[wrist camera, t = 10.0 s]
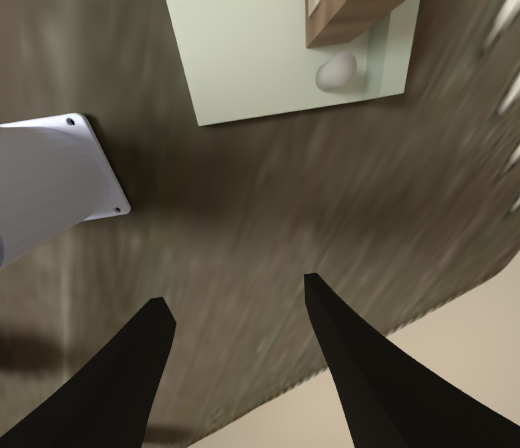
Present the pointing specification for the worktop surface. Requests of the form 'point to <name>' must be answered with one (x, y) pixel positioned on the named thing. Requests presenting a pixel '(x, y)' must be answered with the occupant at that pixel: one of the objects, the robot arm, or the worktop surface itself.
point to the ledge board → (283, 58)
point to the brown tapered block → (342, 19)
